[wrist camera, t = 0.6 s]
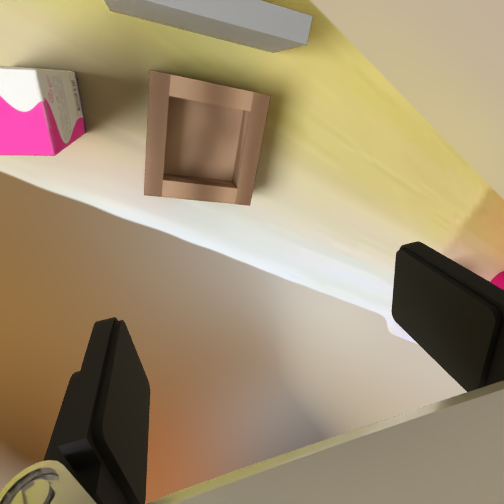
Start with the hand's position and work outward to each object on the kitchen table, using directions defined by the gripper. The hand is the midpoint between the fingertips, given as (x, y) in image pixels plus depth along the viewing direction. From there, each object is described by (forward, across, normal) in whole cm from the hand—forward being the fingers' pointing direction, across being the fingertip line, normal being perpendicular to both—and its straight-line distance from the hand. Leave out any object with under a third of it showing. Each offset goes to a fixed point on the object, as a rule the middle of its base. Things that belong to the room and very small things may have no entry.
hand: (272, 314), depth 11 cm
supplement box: (+30, +13, -8) cm, 34 cm away
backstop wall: (+30, -3, -13) cm, 33 cm away
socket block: (+31, -1, -2) cm, 31 cm away
